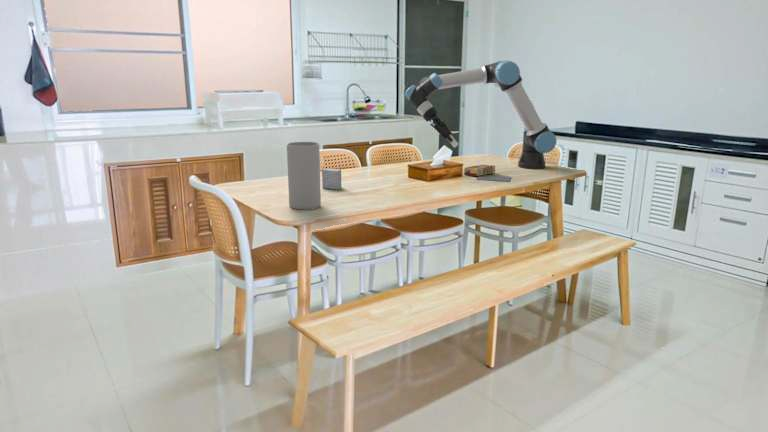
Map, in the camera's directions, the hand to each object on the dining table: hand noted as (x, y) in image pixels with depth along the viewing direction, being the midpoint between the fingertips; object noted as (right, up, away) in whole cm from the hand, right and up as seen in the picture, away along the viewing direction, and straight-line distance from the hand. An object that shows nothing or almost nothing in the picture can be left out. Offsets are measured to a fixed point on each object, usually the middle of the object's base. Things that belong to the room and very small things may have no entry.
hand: (456, 145), depth 268 cm
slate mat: (+19, -17, -2) cm, 25 cm away
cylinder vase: (-69, -32, -59) cm, 96 cm away
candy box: (+7, -13, +2) cm, 15 cm away
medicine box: (-61, -23, -27) cm, 71 cm away
